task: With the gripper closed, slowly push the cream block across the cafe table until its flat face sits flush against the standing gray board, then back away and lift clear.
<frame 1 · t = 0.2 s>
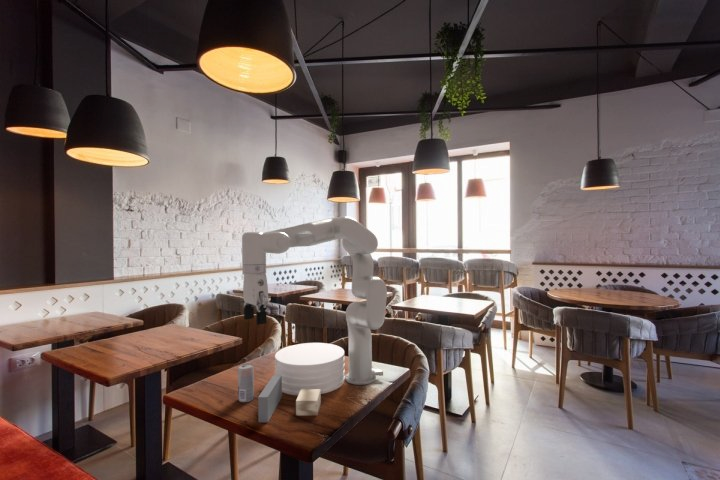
hand: (255, 321, 117), 31 cm above the table, tool pointing down, fingers open, 9 cm apart
plate stack: (310, 381, 144), on the table
energy drink: (246, 399, 128), on the table
gray board: (271, 408, 121), on the table
cream block: (308, 409, 120), on the table
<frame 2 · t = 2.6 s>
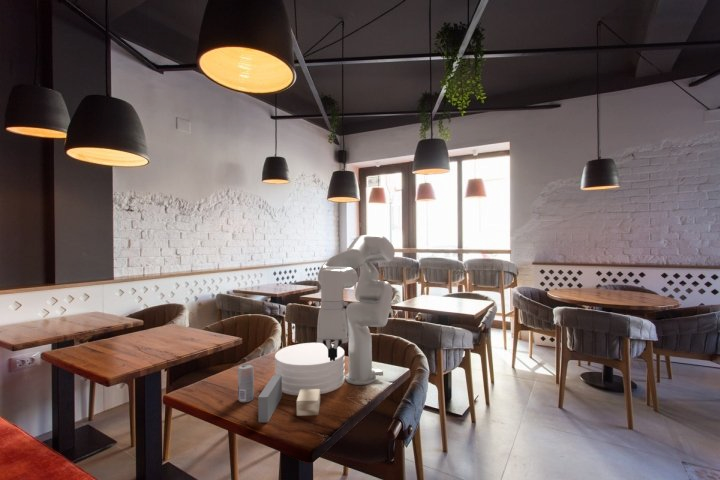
hand: (332, 359, 120), 17 cm above the table, tool pointing down, fingers closed
nothing on the table moved.
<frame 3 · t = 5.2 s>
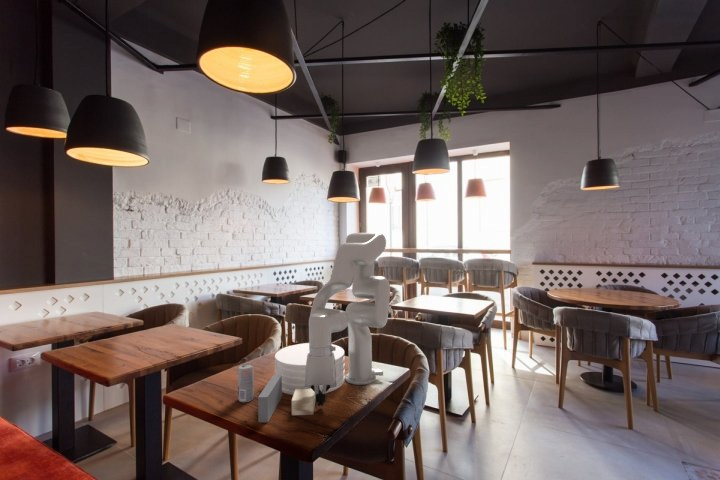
hand: (320, 404, 120), 2 cm above the table, tool pointing down, fingers closed
cream block: (304, 408, 121), on the table
everything else where it was.
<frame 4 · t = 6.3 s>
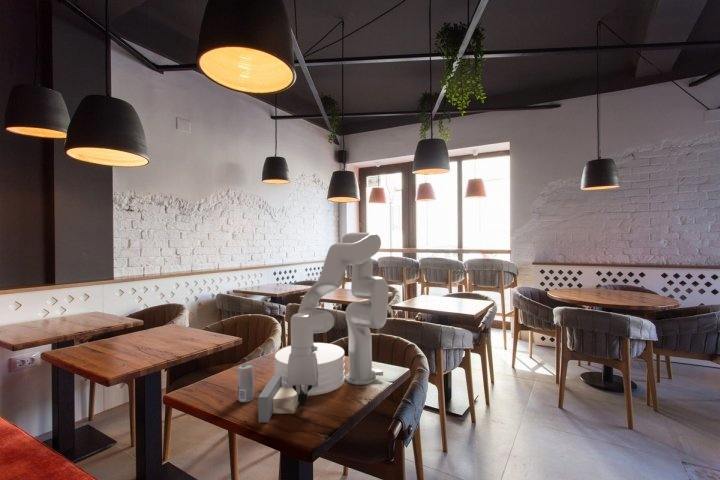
hand: (302, 404, 120), 2 cm above the table, tool pointing down, fingers closed
cream block: (287, 407, 122), on the table
everything else where it was.
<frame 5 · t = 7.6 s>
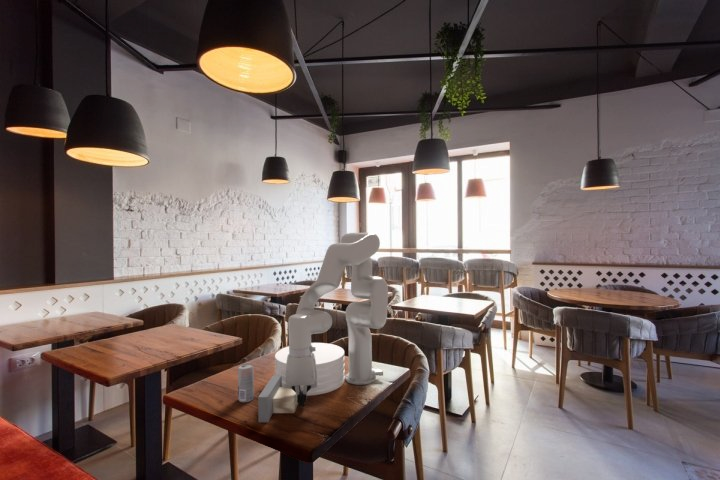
hand: (302, 404, 121), 1 cm above the table, tool pointing down, fingers closed
cream block: (286, 407, 122), on the table, touching gray board, gripper
everything else where it was.
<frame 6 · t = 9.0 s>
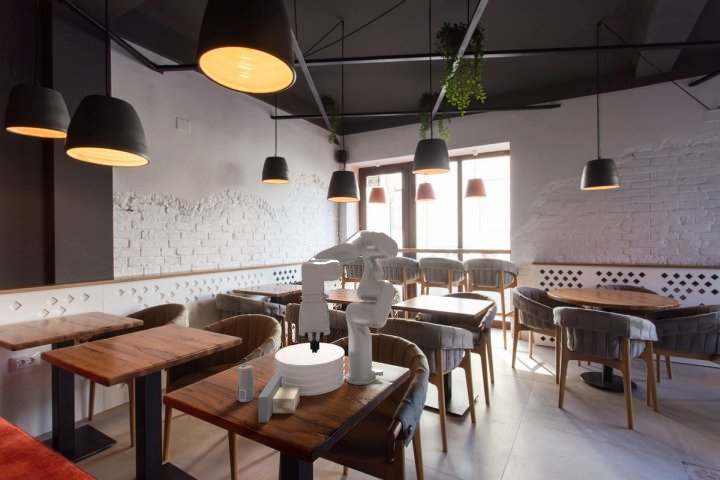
hand: (315, 351, 121), 19 cm above the table, tool pointing down, fingers closed
cream block: (286, 407, 122), on the table
everything else where it was.
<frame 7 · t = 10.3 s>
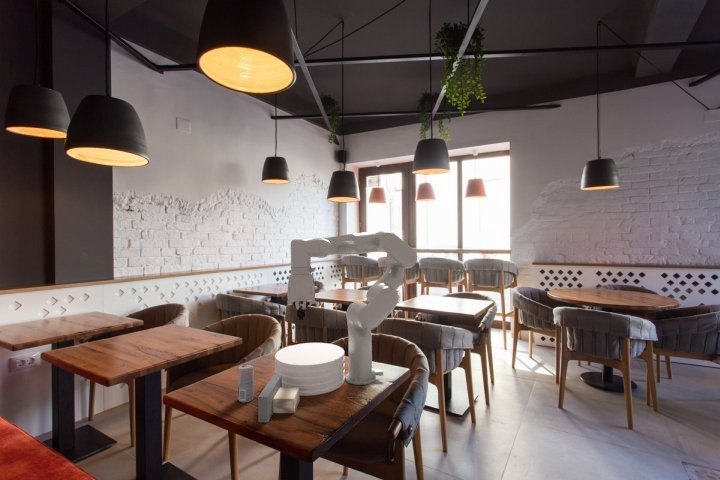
hand: (301, 319, 135), 27 cm above the table, tool pointing down, fingers closed
nothing on the table moved.
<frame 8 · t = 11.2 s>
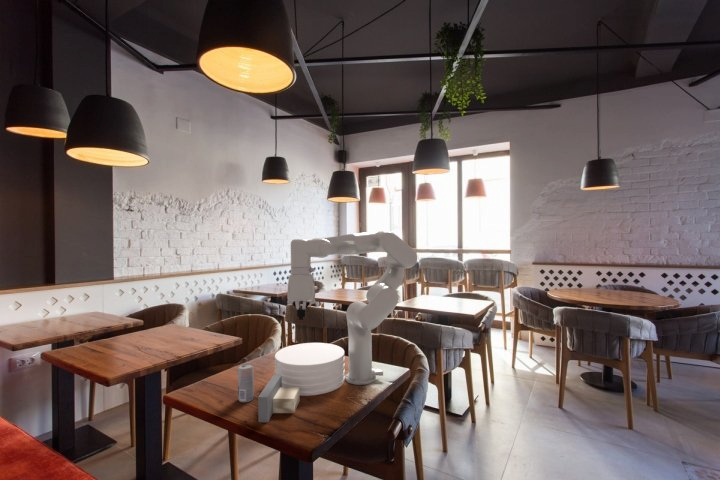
hand: (301, 319, 135), 27 cm above the table, tool pointing down, fingers closed
nothing on the table moved.
at the end: cream block inside the target area on the table beside the gray board (1.5 cm from its centre), on the table; cream block tilted 0° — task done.
